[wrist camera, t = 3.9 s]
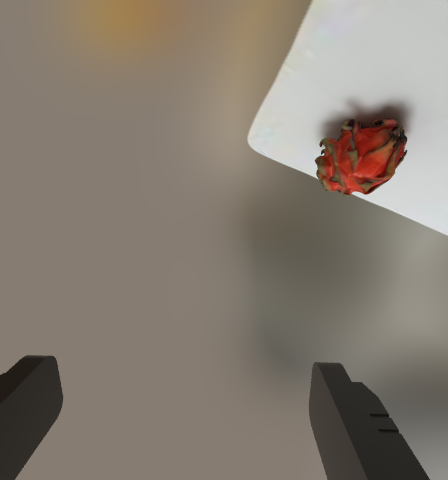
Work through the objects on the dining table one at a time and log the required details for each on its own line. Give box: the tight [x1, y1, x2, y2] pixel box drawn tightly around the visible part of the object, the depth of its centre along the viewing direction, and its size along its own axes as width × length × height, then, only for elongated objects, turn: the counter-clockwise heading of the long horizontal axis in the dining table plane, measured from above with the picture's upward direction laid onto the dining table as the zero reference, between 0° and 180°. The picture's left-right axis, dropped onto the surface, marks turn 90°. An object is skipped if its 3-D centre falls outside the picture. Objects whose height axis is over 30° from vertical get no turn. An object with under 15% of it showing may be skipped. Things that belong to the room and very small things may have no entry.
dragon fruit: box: [315, 118, 407, 197], centre depth 33 cm, size 8×8×12 cm
